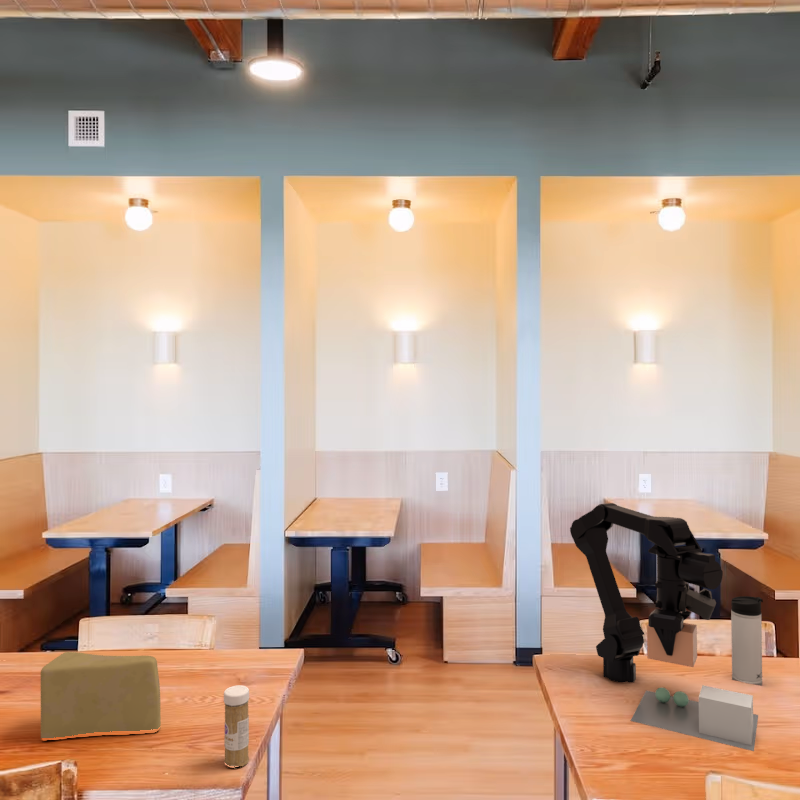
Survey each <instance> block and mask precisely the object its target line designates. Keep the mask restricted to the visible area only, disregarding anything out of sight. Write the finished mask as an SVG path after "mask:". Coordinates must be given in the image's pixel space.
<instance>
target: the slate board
mask: <svg viewBox="0 0 800 800" xmlns="http://www.w3.org/2000/svg"><path fill="white" fill-rule="evenodd" d="M655 693H656V691H651V690H645V692H644V693H643V696H642V698H641V699H640V701H639V704H638V706H637V707H636V708H635V711H634V713H633V715H632V717H631V719H630V722H633V723H638V724H642V725H645V726H650V727H653V728H658V729H662V730H665V731H670V732H673V733H679V734H683V735H686V736H690V737H694V738H700V739H702V740H706V741H710V742H715V743H718V744H724V745H727V746H730V747H731V746H732V747H735V748H739V749H744V750H748V751H752V752H754V751H755V746H756V737H757V729H758V719H759V714H756V713H753V738H752V745H748V744H744V743H740V742H736V741H732V740H727V739H723V738H719V737H715V736H711V735H707V734H703V733H699V701H698V700H697V701H696V700H692V699H689V702H688V704H687V705H686V706H684V707H680V706H678V705H676V703H675V702H674V700H673V696H674V695H670V700H669V701H668V702H666V703H662V702H660V701H659V700H658V699H657V698H656V695H655Z"/></svg>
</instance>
